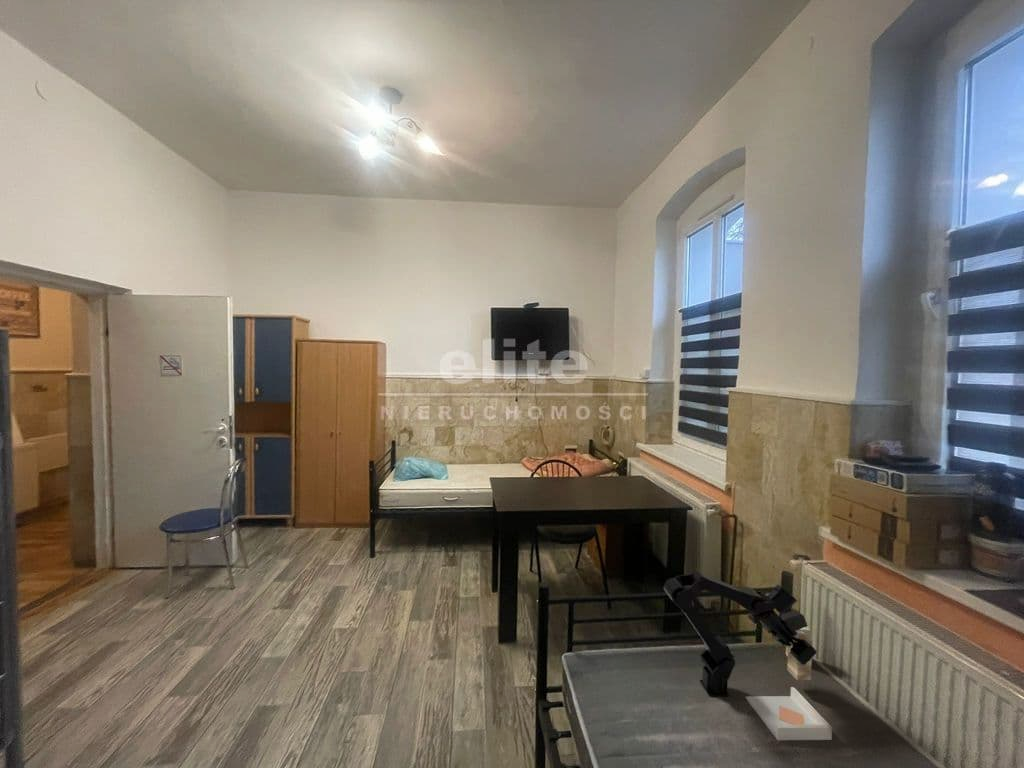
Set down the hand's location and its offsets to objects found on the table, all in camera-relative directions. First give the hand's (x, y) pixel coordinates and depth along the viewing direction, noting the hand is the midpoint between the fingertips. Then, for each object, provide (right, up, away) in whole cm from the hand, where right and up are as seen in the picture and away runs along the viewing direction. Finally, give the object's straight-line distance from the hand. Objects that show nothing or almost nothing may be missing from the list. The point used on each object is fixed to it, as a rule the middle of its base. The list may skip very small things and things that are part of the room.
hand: (803, 654), depth 135 cm
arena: (-14, -11, -12) cm, 21 cm away
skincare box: (+8, -11, +15) cm, 20 cm away
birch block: (-2, -7, 0) cm, 7 cm away
